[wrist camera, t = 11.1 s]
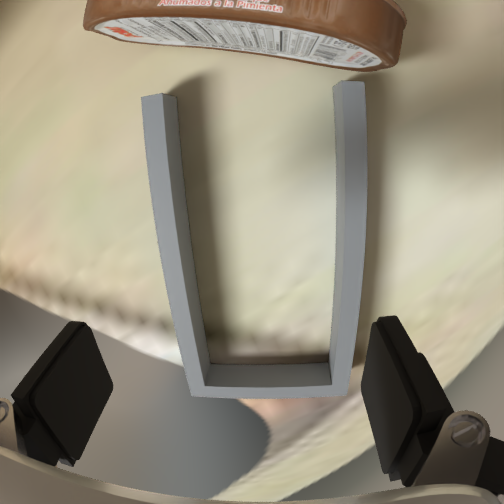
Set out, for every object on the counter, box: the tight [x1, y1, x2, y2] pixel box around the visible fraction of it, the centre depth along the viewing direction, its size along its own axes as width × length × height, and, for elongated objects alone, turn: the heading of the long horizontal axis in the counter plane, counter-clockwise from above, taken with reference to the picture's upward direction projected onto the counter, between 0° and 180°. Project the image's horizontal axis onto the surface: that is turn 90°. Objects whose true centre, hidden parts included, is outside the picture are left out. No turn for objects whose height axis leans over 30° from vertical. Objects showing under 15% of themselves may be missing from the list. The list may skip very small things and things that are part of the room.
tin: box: [83, 0, 407, 72], centre depth 11 cm, size 15×3×8 cm, turn 80°
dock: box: [141, 81, 367, 399], centre depth 19 cm, size 11×20×2 cm, turn 4°
